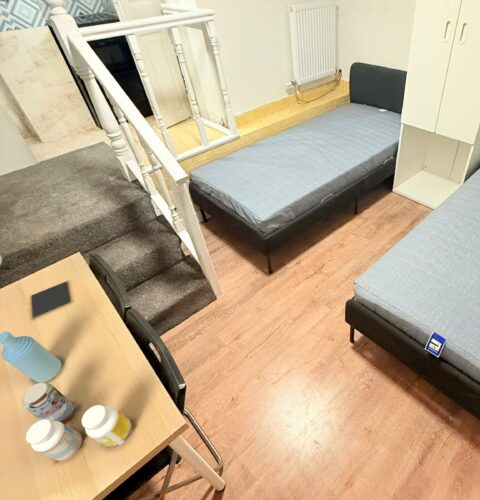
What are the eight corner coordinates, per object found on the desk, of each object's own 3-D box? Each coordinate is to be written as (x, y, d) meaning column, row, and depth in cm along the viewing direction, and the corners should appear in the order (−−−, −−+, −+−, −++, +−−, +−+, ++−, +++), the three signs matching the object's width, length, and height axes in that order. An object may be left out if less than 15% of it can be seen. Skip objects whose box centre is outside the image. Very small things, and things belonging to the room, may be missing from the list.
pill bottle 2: (133, 414, 82) (110, 395, 74) (133, 441, 78) (109, 424, 70) (104, 425, 81) (78, 407, 72) (103, 453, 76) (75, 437, 68)
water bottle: (29, 385, 88) (-21, 352, 76) (38, 362, 93) (-8, 327, 81) (57, 379, 89) (12, 345, 77) (64, 356, 94) (23, 321, 82)
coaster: (33, 317, 104) (32, 316, 104) (32, 296, 110) (31, 295, 110) (69, 302, 108) (68, 301, 107) (66, 282, 114) (65, 281, 113)
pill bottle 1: (54, 440, 79) (22, 424, 71) (82, 427, 80) (55, 410, 73) (52, 467, 75) (19, 452, 67) (83, 452, 77) (53, 437, 69)
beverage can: (54, 436, 79) (20, 418, 71) (46, 412, 83) (14, 393, 75) (82, 417, 82) (53, 397, 74) (74, 395, 86) (45, 374, 78)
